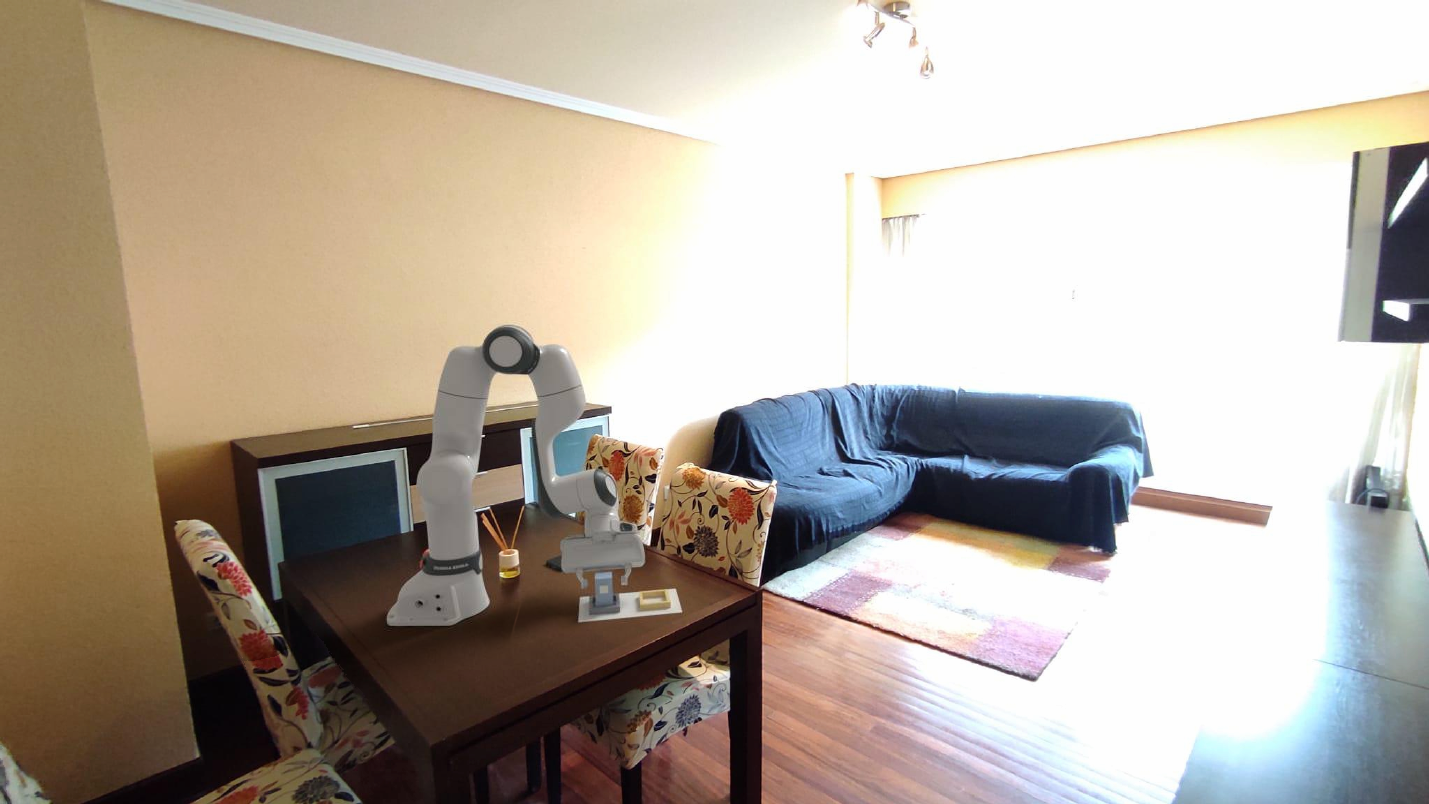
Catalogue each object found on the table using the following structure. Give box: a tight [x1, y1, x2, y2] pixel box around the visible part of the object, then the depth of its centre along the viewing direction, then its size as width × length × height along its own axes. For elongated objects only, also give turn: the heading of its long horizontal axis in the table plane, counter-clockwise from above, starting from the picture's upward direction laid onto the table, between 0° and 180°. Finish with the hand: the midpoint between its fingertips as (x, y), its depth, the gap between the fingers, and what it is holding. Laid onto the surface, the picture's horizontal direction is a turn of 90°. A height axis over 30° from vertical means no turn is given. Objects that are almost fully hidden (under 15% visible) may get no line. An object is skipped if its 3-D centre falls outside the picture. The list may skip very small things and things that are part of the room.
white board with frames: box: [577, 588, 683, 623], centre depth 150 cm, size 24×13×2 cm, turn 101°
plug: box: [594, 570, 614, 607], centre depth 148 cm, size 4×5×8 cm
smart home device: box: [545, 554, 564, 572], centre depth 181 cm, size 8×2×20 cm
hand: (604, 586), depth 149 cm, fingers open, 8 cm apart
